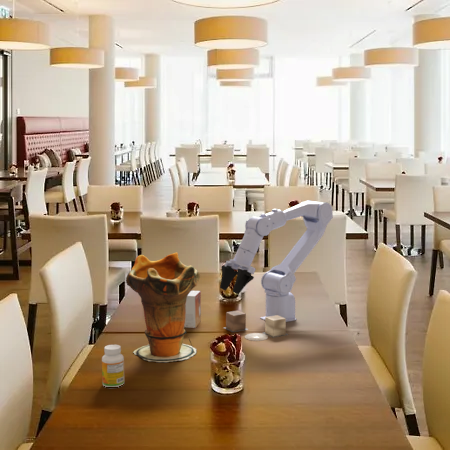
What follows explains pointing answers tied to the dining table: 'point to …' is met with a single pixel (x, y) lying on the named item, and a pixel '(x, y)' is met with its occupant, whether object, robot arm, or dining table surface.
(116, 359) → the supplement bottle
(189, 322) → the small box
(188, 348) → the decorative vase
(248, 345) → the dining table surface
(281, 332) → the maple block
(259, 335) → the coaster
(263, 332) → the code tile
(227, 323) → the walnut block
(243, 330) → the code tile
